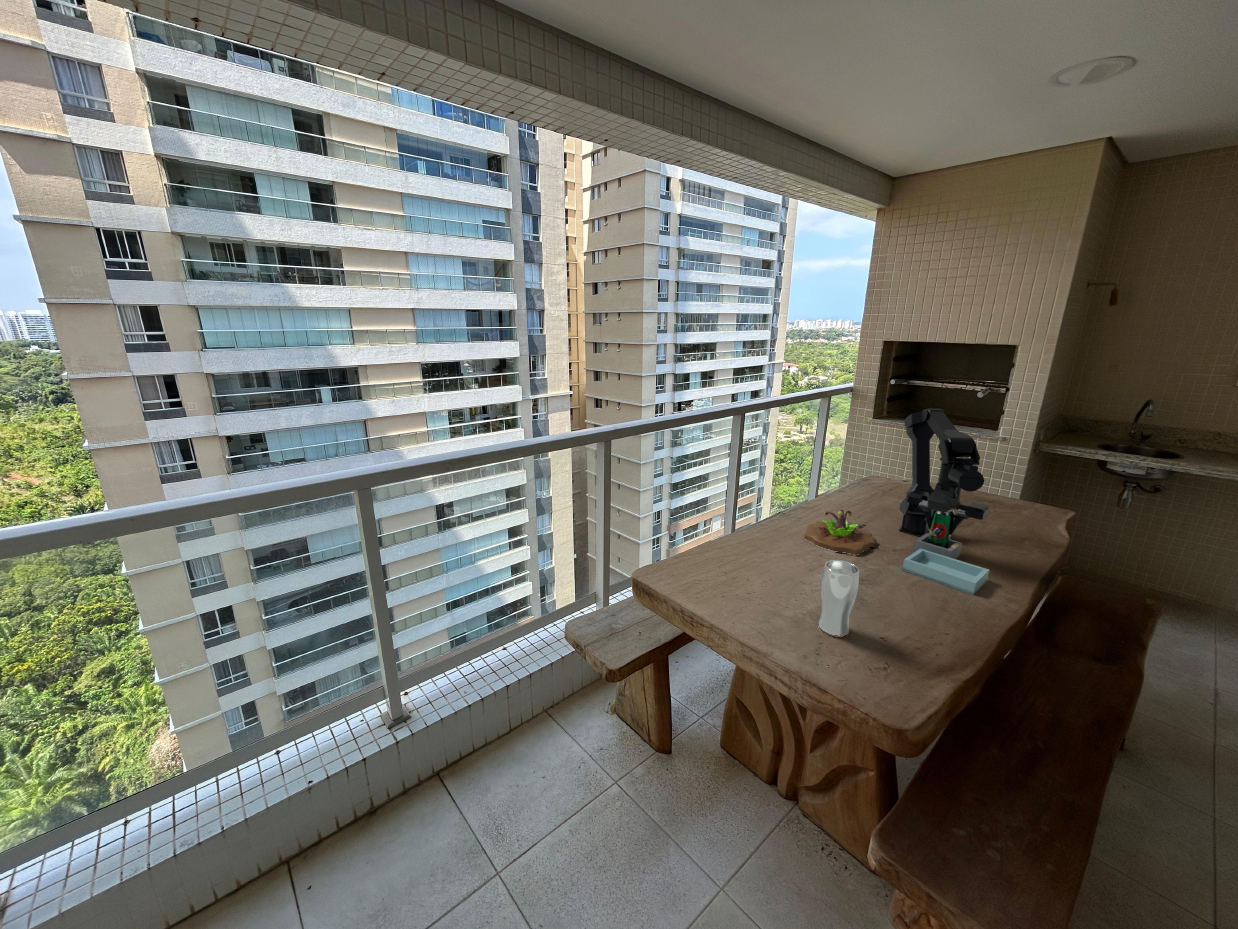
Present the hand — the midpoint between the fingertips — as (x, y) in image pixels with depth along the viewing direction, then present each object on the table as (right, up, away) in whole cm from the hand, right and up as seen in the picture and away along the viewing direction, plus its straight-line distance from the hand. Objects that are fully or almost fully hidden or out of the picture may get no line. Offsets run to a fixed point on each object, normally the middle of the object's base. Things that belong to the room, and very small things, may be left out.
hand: (940, 531), depth 131 cm
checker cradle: (0, -7, +2) cm, 7 cm away
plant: (-24, -5, +12) cm, 27 cm away
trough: (-7, -10, -11) cm, 16 cm away
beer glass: (-47, -17, -33) cm, 60 cm away
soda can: (0, -5, +1) cm, 5 cm away
